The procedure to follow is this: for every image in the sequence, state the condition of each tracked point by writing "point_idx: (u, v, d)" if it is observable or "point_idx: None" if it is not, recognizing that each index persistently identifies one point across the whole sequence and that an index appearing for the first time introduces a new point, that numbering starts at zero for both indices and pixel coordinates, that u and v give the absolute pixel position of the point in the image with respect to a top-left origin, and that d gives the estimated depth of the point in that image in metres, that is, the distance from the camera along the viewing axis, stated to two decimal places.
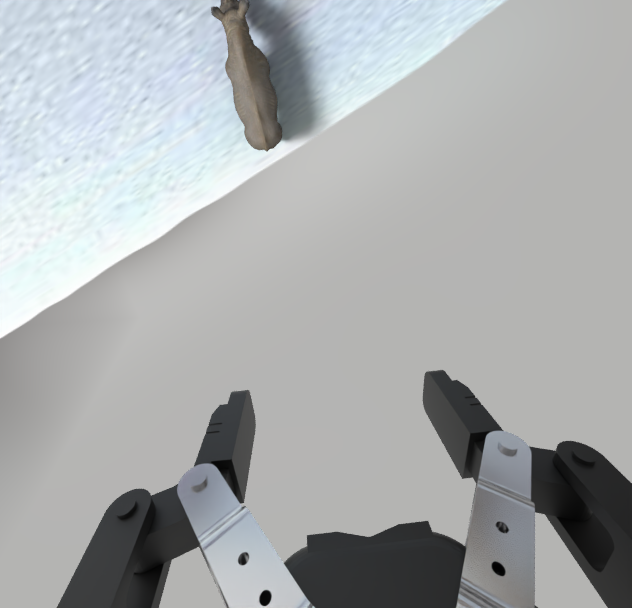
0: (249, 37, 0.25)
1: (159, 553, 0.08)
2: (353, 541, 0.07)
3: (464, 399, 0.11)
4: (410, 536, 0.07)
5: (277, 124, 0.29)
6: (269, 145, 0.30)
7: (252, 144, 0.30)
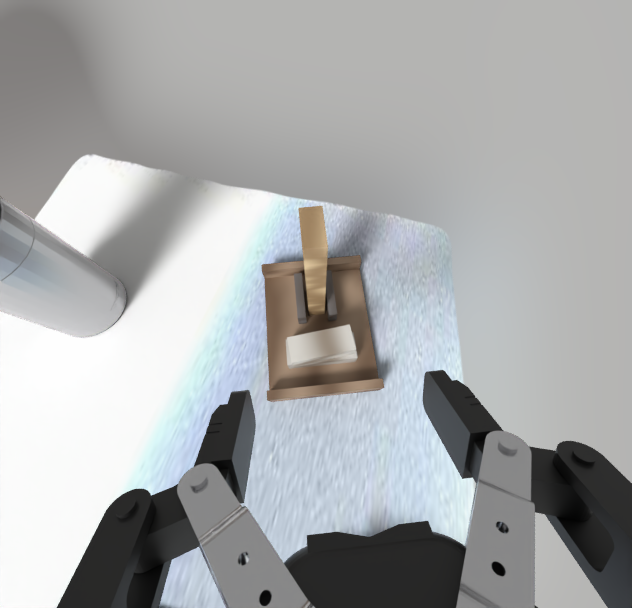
0: None
1: (159, 553, 0.08)
2: (353, 541, 0.07)
3: (464, 399, 0.11)
4: (410, 536, 0.07)
5: None
6: None
7: None
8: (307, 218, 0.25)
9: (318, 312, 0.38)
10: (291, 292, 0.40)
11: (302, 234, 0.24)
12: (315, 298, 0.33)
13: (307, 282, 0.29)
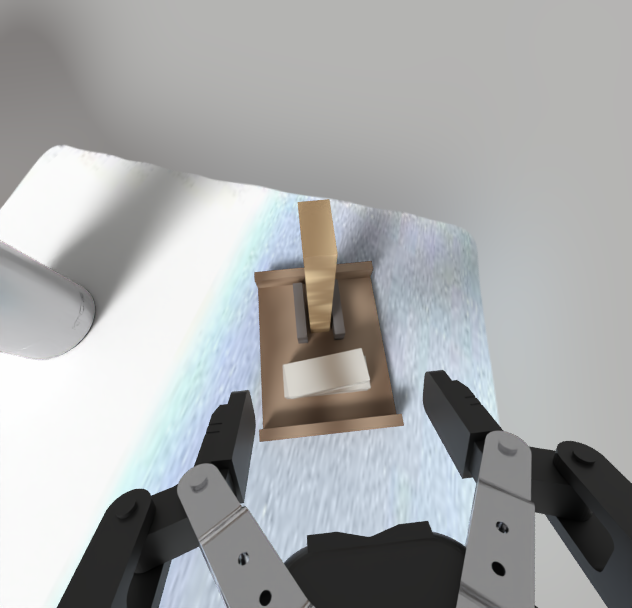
0: None
1: (159, 553, 0.08)
2: (353, 541, 0.07)
3: (464, 399, 0.11)
4: (410, 536, 0.07)
5: None
6: None
7: None
8: (309, 216, 0.18)
9: (322, 329, 0.31)
10: (289, 305, 0.33)
11: (302, 237, 0.18)
12: (318, 315, 0.27)
13: (309, 298, 0.23)
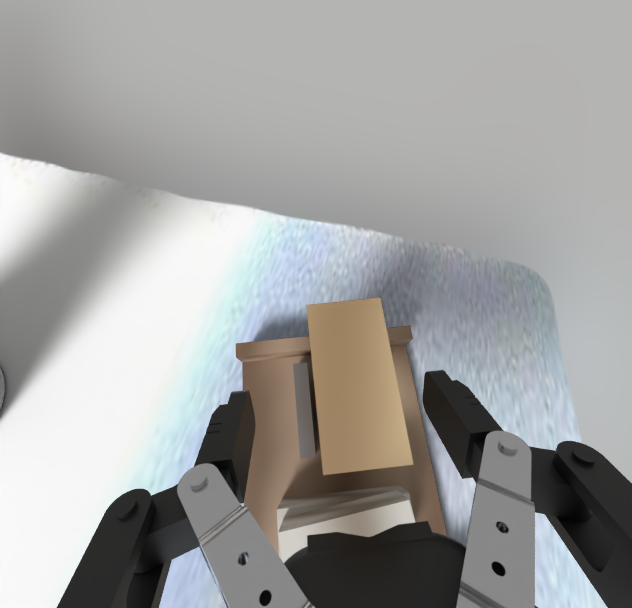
0: None
1: (159, 553, 0.08)
2: (353, 541, 0.07)
3: (464, 399, 0.11)
4: (410, 536, 0.07)
5: None
6: None
7: None
8: (336, 344, 0.08)
9: None
10: (288, 390, 0.23)
11: (321, 409, 0.07)
12: None
13: None
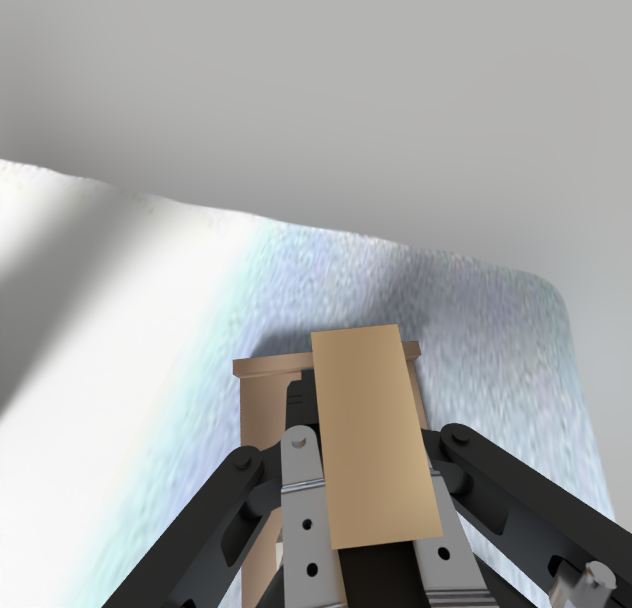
0: None
1: (268, 501, 0.10)
2: None
3: None
4: None
5: None
6: None
7: None
8: (345, 380, 0.06)
9: None
10: None
11: (328, 463, 0.06)
12: None
13: None
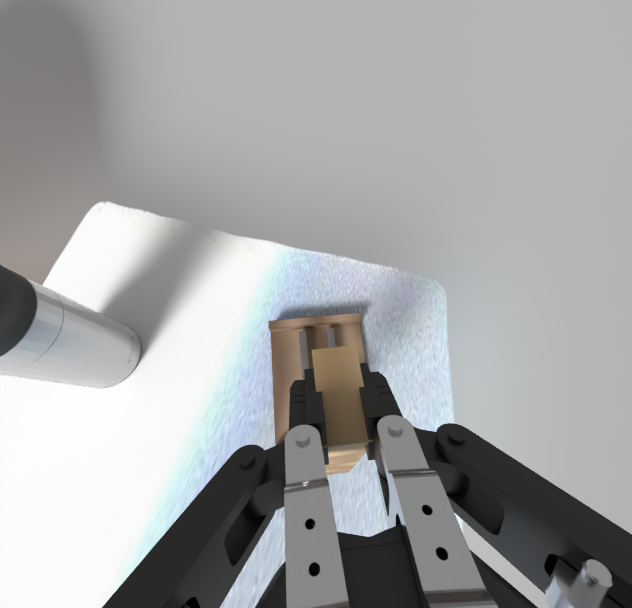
0: None
1: (272, 501, 0.10)
2: (353, 541, 0.07)
3: (374, 388, 0.12)
4: None
5: None
6: None
7: None
8: (329, 372, 0.13)
9: (340, 472, 0.24)
10: (296, 346, 0.42)
11: None
12: (337, 468, 0.20)
13: None
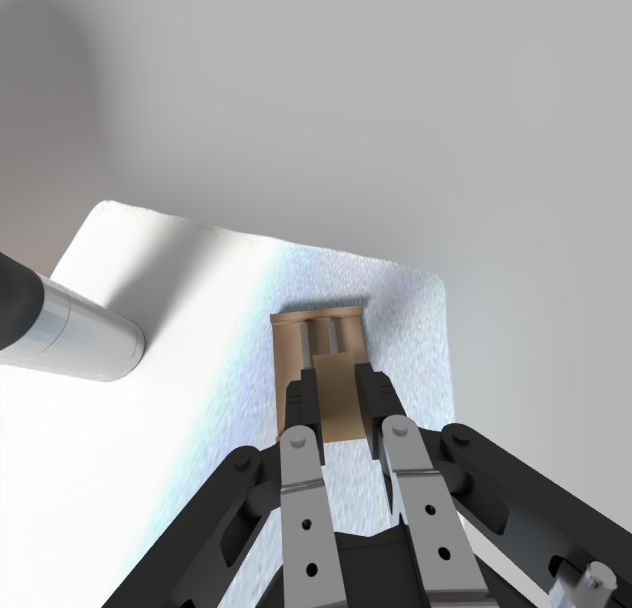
0: None
1: (267, 501, 0.10)
2: (353, 541, 0.07)
3: (378, 388, 0.12)
4: None
5: None
6: None
7: None
8: (328, 377, 0.14)
9: None
10: (297, 339, 0.43)
11: (320, 411, 0.14)
12: None
13: None
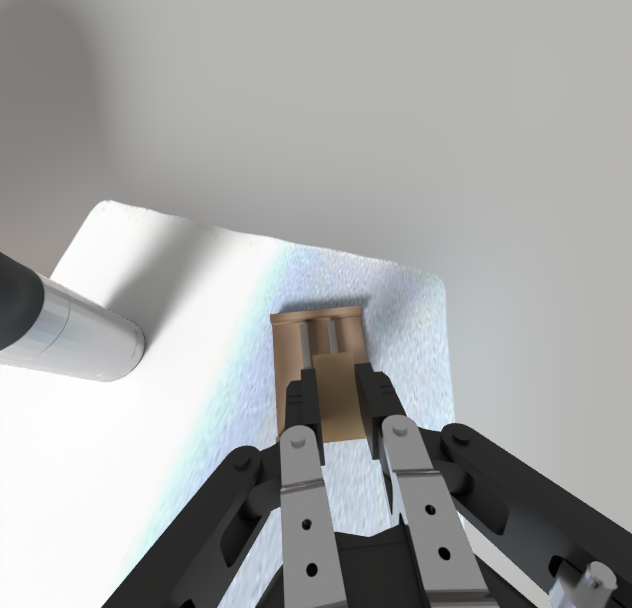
0: None
1: (267, 501, 0.10)
2: (353, 541, 0.07)
3: (378, 388, 0.12)
4: None
5: None
6: None
7: None
8: (328, 377, 0.14)
9: None
10: (297, 339, 0.43)
11: (320, 411, 0.14)
12: None
13: None
